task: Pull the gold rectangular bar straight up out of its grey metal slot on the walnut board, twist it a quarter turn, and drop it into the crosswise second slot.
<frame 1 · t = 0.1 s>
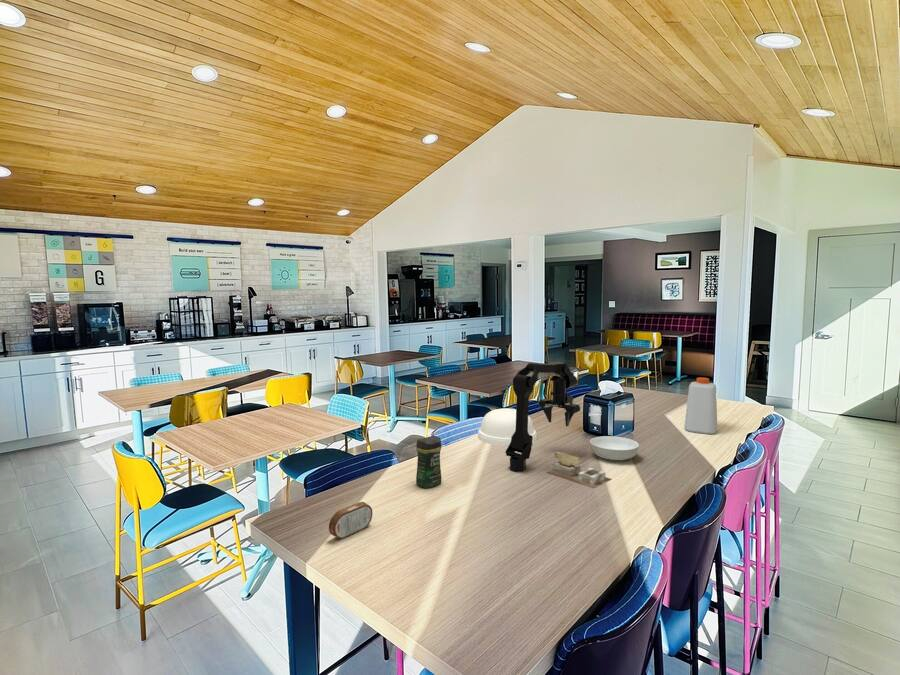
hand: (558, 424, 218), 15 cm above the table, fingers open, 9 cm apart
dome cover: (507, 437, 249), on the table
serving bowl: (613, 457, 217), on the table
tin: (352, 533, 150), on the table
coffee jar: (429, 484, 188), on the table
gold rectangular bar: (566, 472, 197), point 1 cm above the table, touching board
plastic bottle: (700, 430, 259), on the table
board: (578, 478, 193), on the table
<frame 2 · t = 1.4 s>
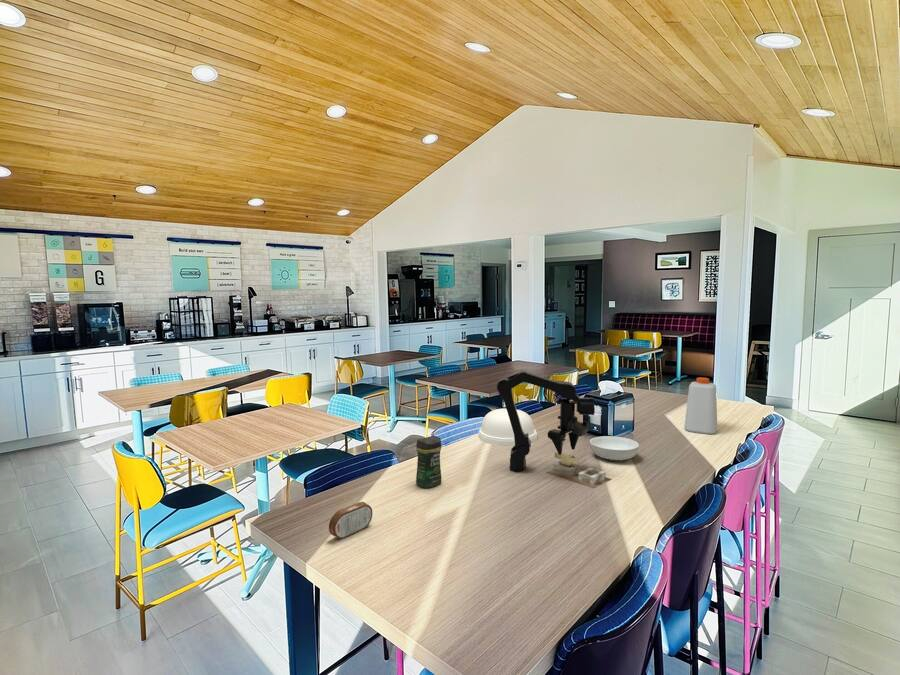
hand: (566, 451, 196), 9 cm above the table, fingers open, 9 cm apart
nothing on the table moved.
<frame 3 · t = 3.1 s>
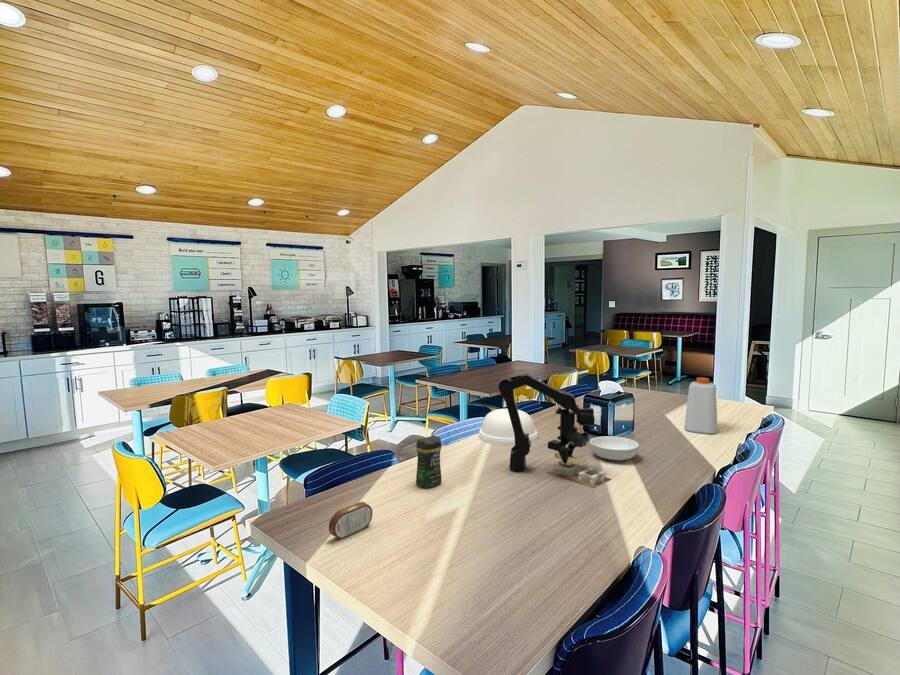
hand: (566, 462, 197), 5 cm above the table, fingers closed on gold rectangular bar, 2 cm apart
gold rectangular bar: (566, 472, 197), point 1 cm above the table, touching board, gripper
everything else where it was.
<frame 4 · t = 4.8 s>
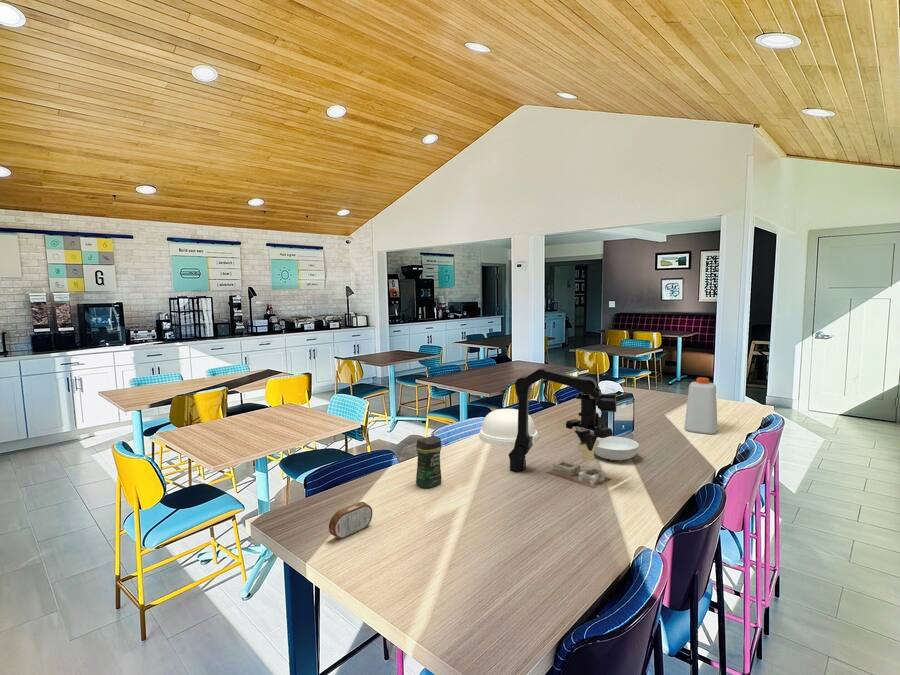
hand: (588, 449, 189), 12 cm above the table, fingers closed on gold rectangular bar
gold rectangular bar: (588, 459, 189), point 8 cm above the table, touching gripper
everything else where it was.
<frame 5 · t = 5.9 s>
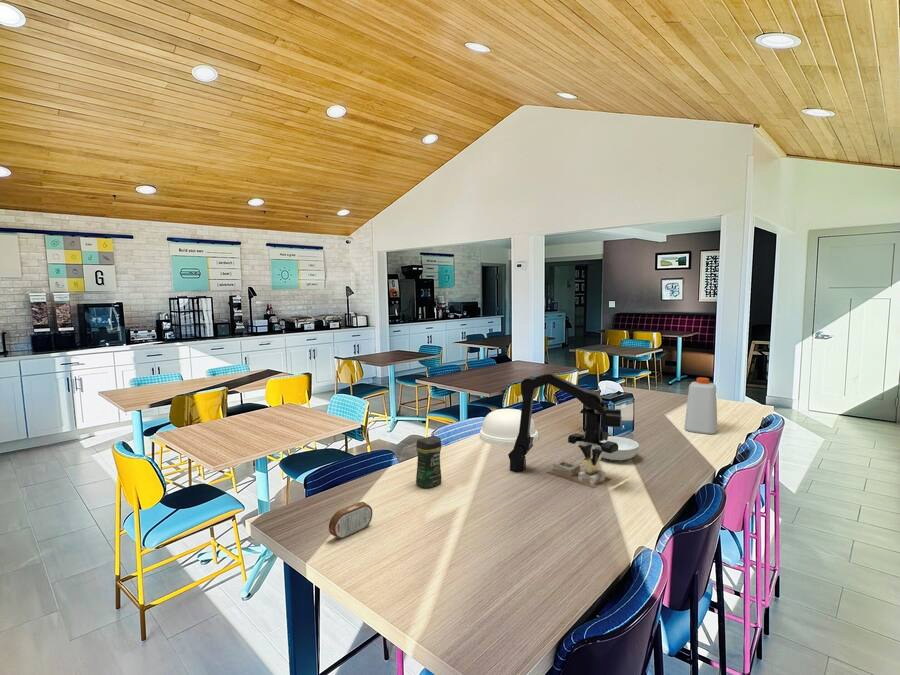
hand: (591, 464, 188), 7 cm above the table, fingers closed on gold rectangular bar, 2 cm apart
gold rectangular bar: (591, 474, 188), point 3 cm above the table, touching gripper
everything else where it was.
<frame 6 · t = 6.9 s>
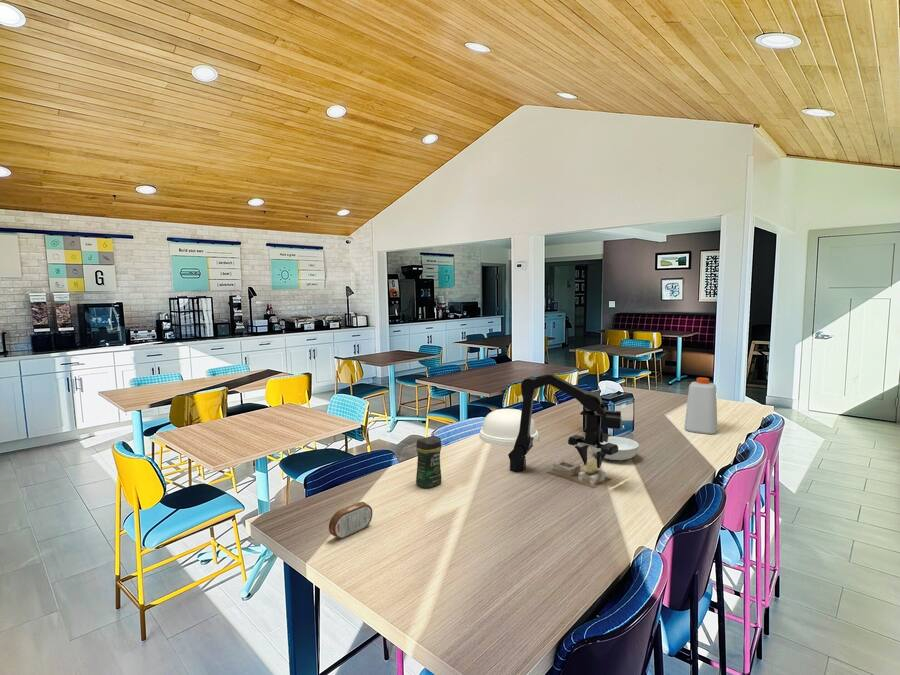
hand: (592, 466, 188), 6 cm above the table, fingers open, 5 cm apart
gold rectangular bar: (591, 479, 188), point 1 cm above the table, touching board
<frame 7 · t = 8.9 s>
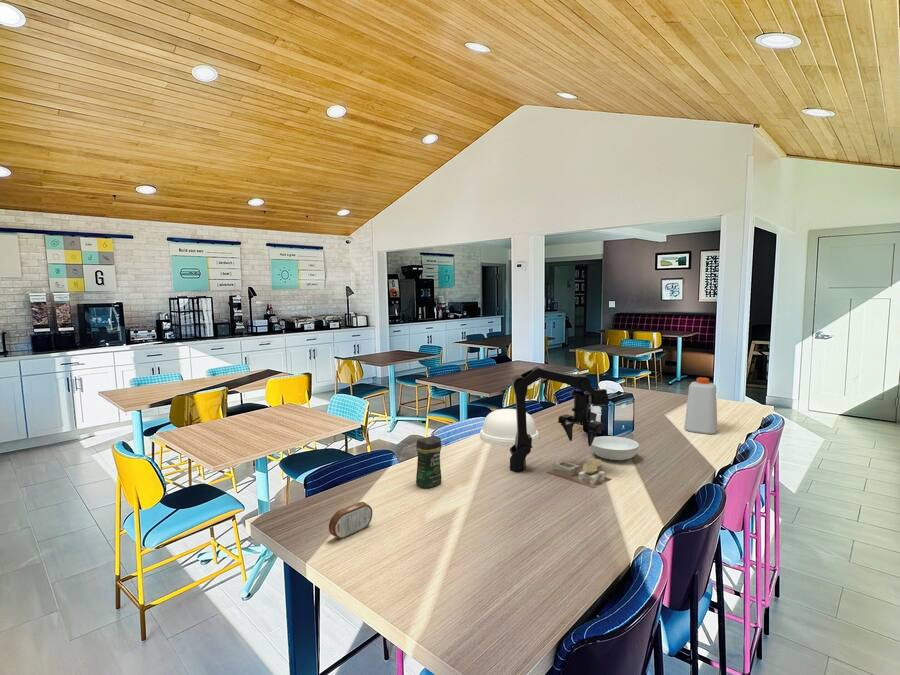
hand: (580, 443, 199), 12 cm above the table, fingers open, 9 cm apart
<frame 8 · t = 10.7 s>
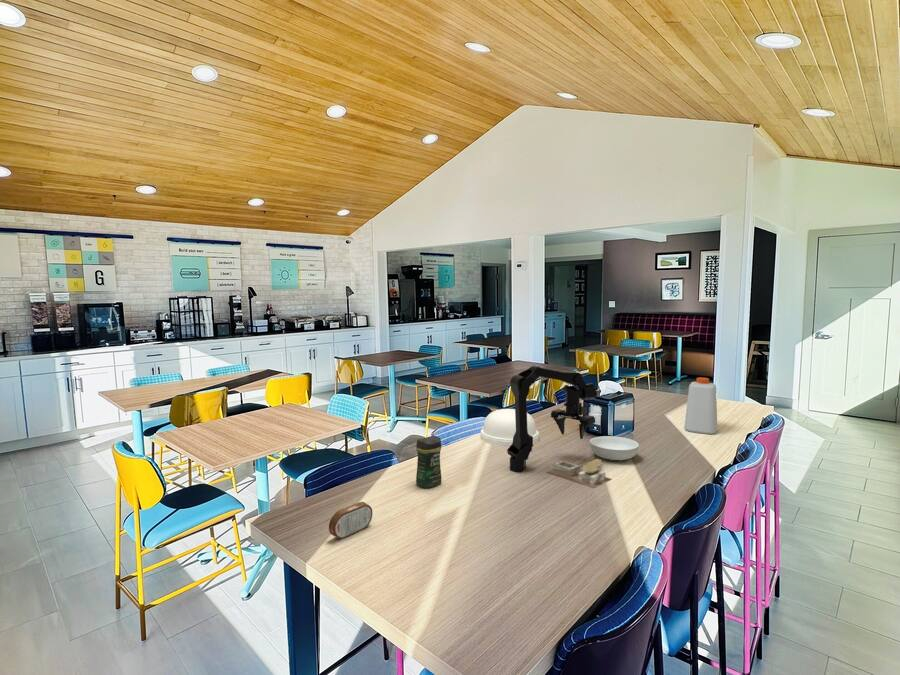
hand: (572, 436, 208), 12 cm above the table, fingers open, 9 cm apart
at the end: gold rectangular bar 0.0 cm from the target spot on the board, point 1.0 cm above the board's base; gold rectangular bar tilted 0°; the gripper is holding nothing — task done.
